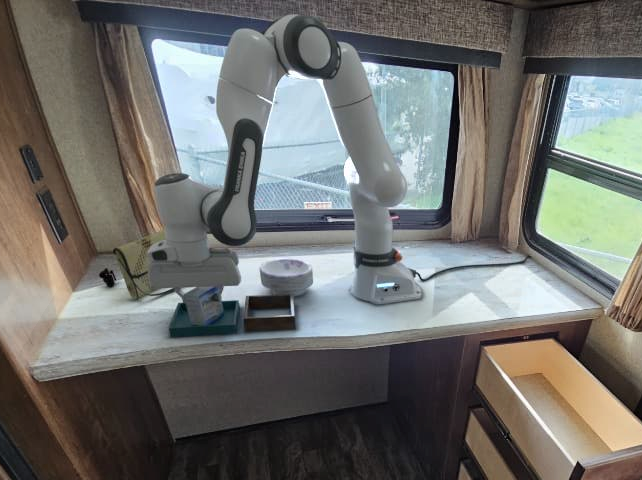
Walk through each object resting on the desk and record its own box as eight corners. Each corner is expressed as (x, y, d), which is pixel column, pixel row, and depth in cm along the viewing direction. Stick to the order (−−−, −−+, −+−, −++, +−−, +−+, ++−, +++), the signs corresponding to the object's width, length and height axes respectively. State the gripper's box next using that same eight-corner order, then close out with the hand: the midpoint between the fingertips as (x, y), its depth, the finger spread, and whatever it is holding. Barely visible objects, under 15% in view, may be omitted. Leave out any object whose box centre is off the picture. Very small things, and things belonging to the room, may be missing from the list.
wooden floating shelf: (294, 306, 126) (292, 293, 123) (296, 329, 116) (294, 316, 113) (248, 308, 122) (245, 295, 120) (245, 332, 112) (243, 318, 110)
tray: (240, 308, 122) (238, 300, 120) (236, 333, 111) (235, 324, 110) (180, 311, 118) (178, 302, 116) (171, 337, 107) (168, 328, 106)
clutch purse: (148, 306, 118) (130, 253, 109) (125, 302, 119) (106, 248, 110) (215, 268, 142) (205, 222, 133) (196, 265, 143) (184, 219, 134)
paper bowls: (310, 279, 142) (308, 256, 137) (317, 299, 130) (315, 275, 126) (261, 282, 137) (257, 258, 132) (264, 303, 125) (260, 278, 121)
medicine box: (206, 327, 111) (198, 296, 106) (191, 324, 112) (182, 293, 107) (225, 314, 117) (218, 284, 112) (210, 311, 118) (203, 281, 113)
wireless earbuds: (110, 291, 124) (104, 274, 121) (100, 291, 123) (93, 274, 120) (118, 281, 129) (112, 264, 126) (108, 281, 128) (102, 264, 125)
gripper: (237, 243, 108) (246, 294, 116) (144, 244, 103) (161, 297, 111) (235, 252, 103) (245, 305, 111) (138, 254, 98) (156, 308, 106)
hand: (202, 301), depth 111 cm, fingers closed on medicine box, 6 cm apart
